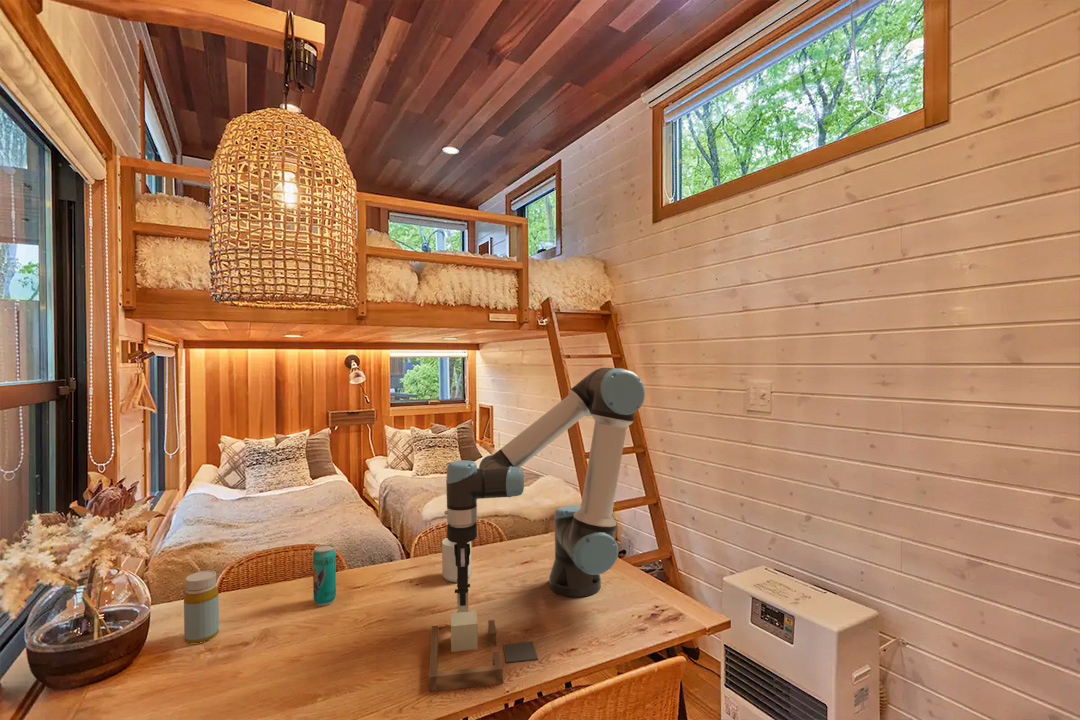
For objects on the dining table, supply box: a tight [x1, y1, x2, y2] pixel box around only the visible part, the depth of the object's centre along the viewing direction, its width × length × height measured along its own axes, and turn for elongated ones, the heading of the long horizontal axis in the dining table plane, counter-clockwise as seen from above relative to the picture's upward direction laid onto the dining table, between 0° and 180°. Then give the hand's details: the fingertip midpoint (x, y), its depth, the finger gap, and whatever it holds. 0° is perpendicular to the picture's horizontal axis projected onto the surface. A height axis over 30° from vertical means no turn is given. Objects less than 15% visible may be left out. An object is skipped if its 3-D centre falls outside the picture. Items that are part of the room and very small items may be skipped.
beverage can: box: [312, 544, 337, 607], centre depth 142 cm, size 6×6×15 cm
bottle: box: [183, 570, 220, 644], centre depth 125 cm, size 7×7×15 cm
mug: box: [441, 537, 473, 583], centre depth 160 cm, size 12×9×11 cm
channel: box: [428, 619, 504, 693], centre depth 116 cm, size 15×20×3 cm
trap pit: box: [502, 640, 539, 664], centre depth 118 cm, size 7×7×1 cm
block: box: [450, 610, 478, 653], centre depth 122 cm, size 6×6×6 cm
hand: (462, 615), depth 131 cm, fingers closed
